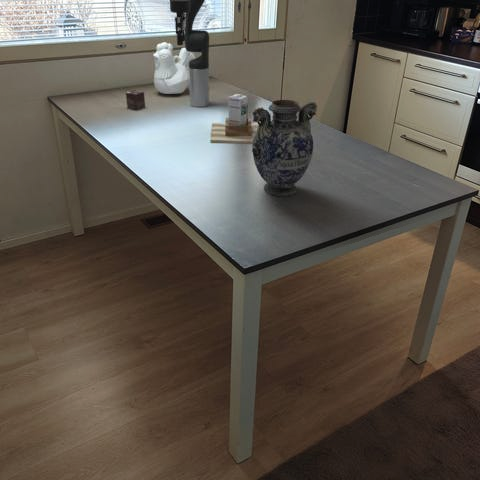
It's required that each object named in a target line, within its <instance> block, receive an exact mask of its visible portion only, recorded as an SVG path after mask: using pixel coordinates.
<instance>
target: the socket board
mask: <svg viewBox="0 0 480 480" xmlns="http://www.w3.org/2000/svg"><path fill="white" fill-rule="evenodd" d="M258 126H259V125H258V123H257V122H252V118H250V117H249V118H248V120H247V125H229V117H225V122H212V123H211V128H210V129H211V131H210V137H209V139H210V140H209V141H210V142H209V143H210V144H211V143H212V144H213V143H215V144H219V143H220V144H253V139H254V135H255V133H256V131H257V128H258Z"/></svg>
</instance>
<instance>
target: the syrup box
mask: <svg viewBox="0 0 480 480" xmlns="http://www.w3.org/2000/svg"><path fill="white" fill-rule="evenodd" d="M248 99H249V97H248V95H245V94H240V93H239V94H238V93H235V94H234V95H231V96H228V99H227V100H228V118H229V125H247V120H248V117H249V116H248V115H249V114H248V111H249V110H248V109H249V108H248V104H249V103H248V102H249V101H248Z"/></svg>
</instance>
